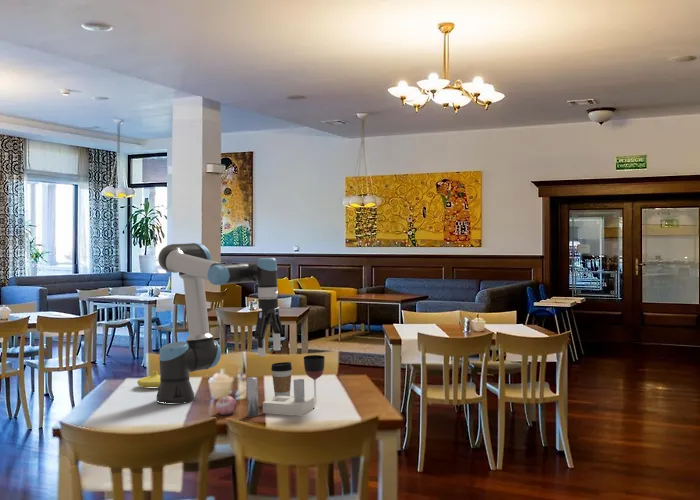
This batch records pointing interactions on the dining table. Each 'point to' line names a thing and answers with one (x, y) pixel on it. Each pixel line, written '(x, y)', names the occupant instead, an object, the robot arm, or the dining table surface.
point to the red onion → (226, 405)
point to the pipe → (252, 396)
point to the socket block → (290, 402)
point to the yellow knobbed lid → (150, 380)
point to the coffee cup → (282, 378)
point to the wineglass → (314, 369)
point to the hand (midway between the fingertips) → (269, 353)
